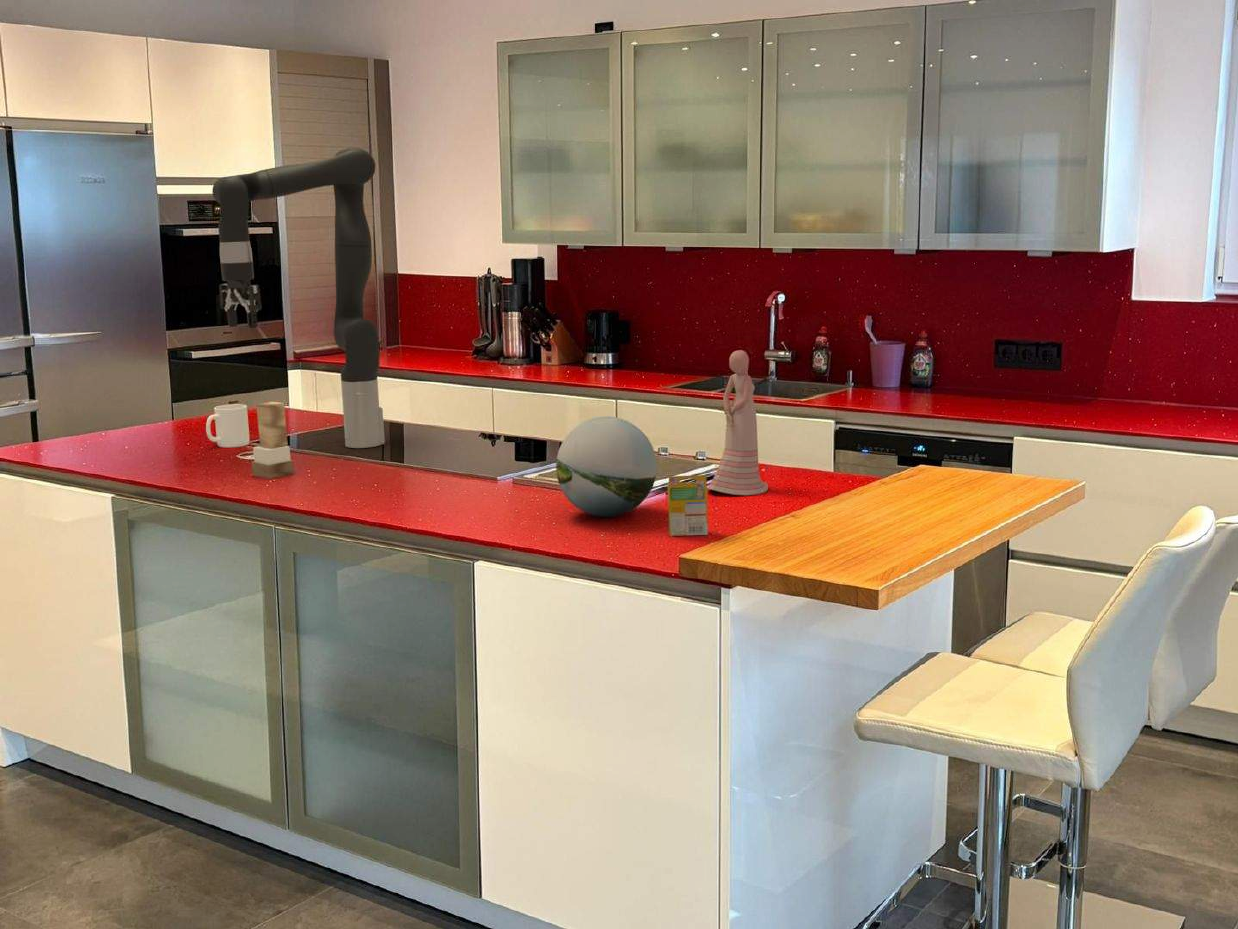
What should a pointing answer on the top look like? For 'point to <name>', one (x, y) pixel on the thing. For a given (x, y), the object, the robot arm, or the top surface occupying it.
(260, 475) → the slab base
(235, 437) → the cup
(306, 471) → the top surface
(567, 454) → the decorative sphere
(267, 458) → the slab top
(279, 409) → the pillar
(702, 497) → the crayon box
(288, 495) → the top surface
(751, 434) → the figurine
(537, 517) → the top surface
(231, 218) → the robot arm
